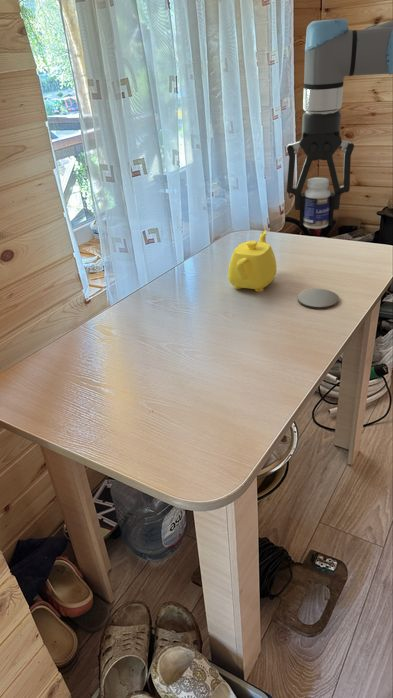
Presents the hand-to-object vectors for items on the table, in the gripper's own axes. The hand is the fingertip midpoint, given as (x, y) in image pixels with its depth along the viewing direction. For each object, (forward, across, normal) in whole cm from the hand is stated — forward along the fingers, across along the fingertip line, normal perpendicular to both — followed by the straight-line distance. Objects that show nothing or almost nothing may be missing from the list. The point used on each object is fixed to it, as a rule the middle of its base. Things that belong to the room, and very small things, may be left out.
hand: (315, 223), depth 115 cm
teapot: (+15, +14, 0) cm, 21 cm away
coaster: (+15, -1, +8) cm, 17 cm away
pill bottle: (+1, 0, 0) cm, 1 cm away
